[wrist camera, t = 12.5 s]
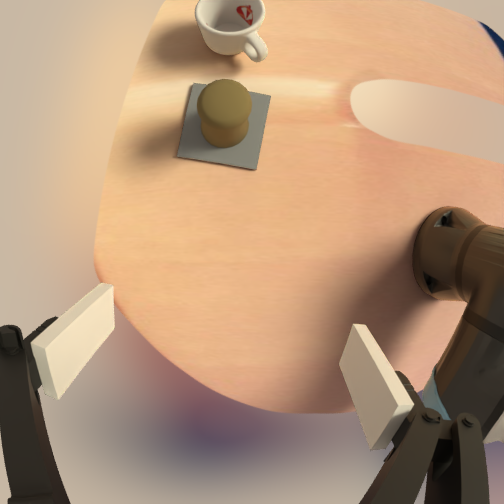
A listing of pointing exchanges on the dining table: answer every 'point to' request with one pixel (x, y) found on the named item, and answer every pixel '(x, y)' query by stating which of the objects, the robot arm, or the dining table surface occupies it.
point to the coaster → (237, 155)
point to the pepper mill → (224, 112)
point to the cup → (232, 26)
